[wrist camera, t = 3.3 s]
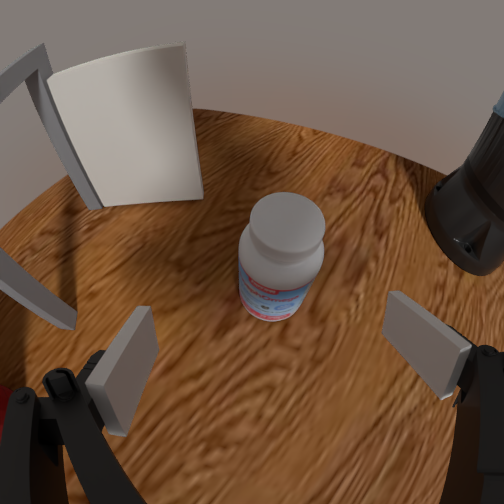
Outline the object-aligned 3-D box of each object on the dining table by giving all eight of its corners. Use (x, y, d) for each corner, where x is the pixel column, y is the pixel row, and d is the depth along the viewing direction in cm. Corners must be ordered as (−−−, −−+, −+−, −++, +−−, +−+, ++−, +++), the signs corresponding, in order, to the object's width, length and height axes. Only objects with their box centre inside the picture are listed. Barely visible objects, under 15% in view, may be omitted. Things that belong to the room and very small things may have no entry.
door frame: (105, 196, 32) (43, 42, 13) (74, 330, 23) (-91, 185, 4) (93, 198, 32) (28, 50, 13) (60, 328, 23) (-98, 191, 4)
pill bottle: (228, 308, 25) (219, 240, 16) (254, 255, 28) (259, 172, 19) (290, 333, 24) (322, 279, 15) (311, 276, 27) (344, 201, 18)
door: (104, 206, 31) (46, 80, 15) (109, 192, 32) (58, 69, 17) (203, 199, 31) (182, 45, 16) (204, 184, 33) (187, 38, 17)
